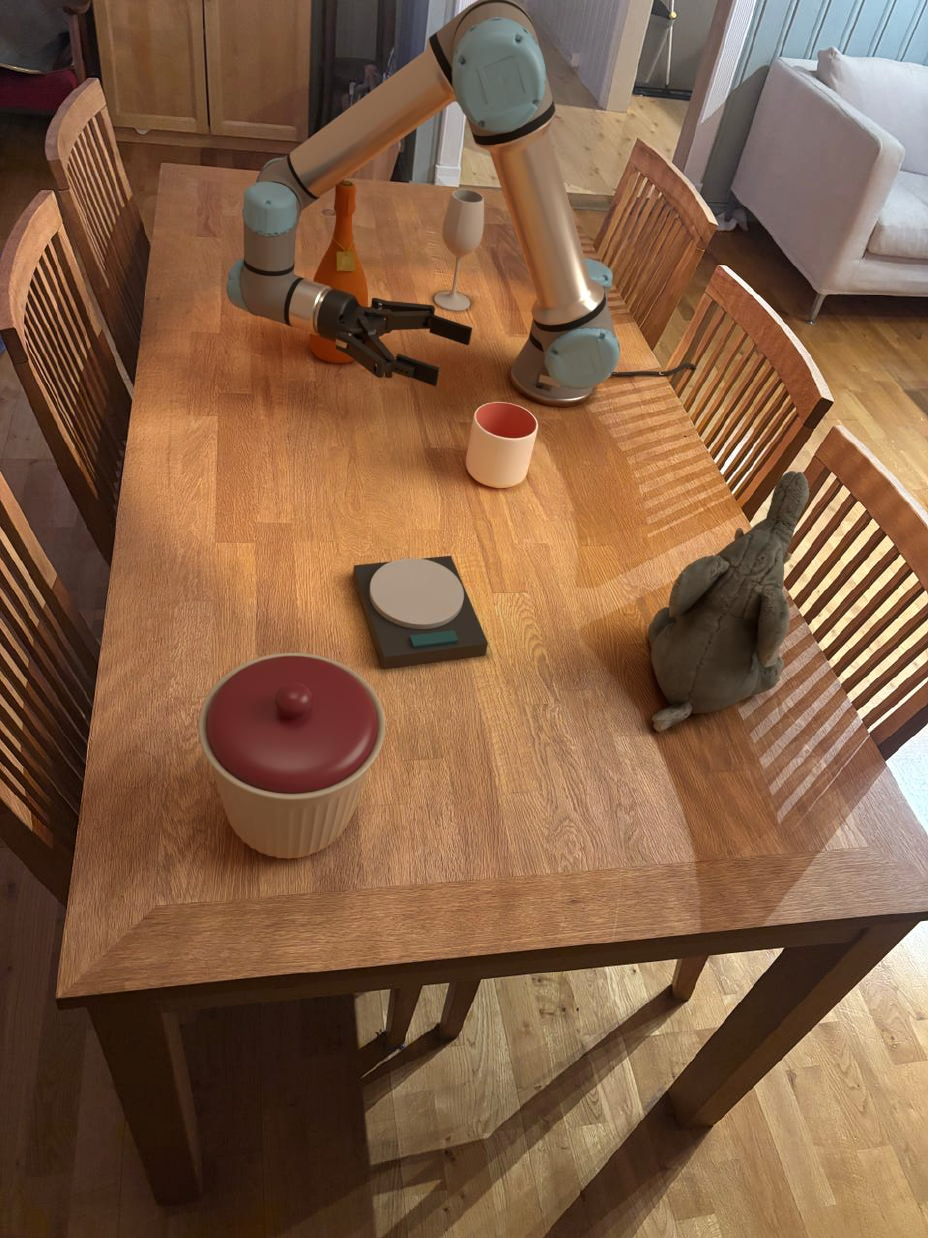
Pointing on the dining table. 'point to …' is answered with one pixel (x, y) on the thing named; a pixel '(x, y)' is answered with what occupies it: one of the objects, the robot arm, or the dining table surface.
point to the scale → (418, 611)
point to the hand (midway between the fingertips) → (454, 356)
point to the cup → (501, 444)
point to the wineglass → (461, 239)
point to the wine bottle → (340, 268)
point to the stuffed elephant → (728, 616)
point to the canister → (291, 749)
